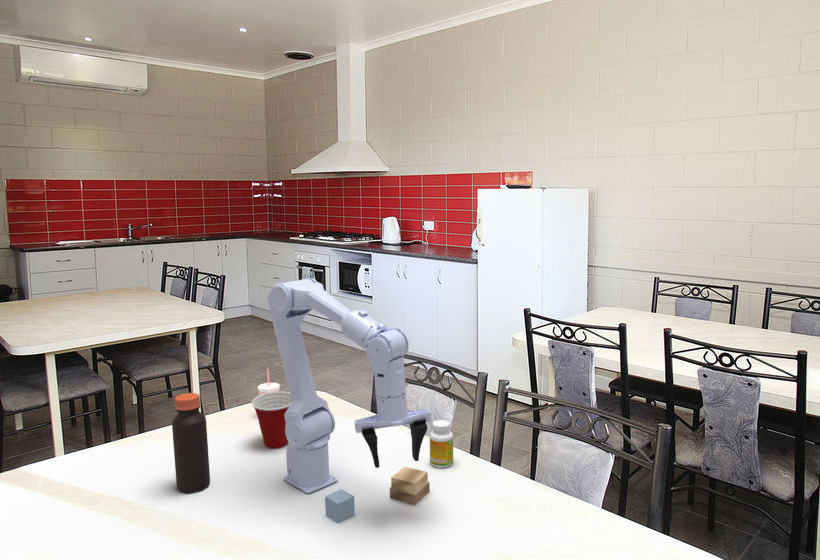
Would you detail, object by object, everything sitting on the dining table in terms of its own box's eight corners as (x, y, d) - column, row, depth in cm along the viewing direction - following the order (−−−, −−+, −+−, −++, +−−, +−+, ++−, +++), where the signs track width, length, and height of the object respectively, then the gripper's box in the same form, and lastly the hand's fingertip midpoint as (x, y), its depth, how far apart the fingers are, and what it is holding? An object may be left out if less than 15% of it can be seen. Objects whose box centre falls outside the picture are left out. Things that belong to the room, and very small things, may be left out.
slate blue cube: (325, 515, 113) (325, 496, 113) (342, 507, 116) (341, 489, 116) (338, 523, 111) (337, 503, 110) (354, 515, 113) (354, 496, 113)
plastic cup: (248, 453, 142) (245, 406, 140) (261, 435, 152) (259, 391, 151) (292, 453, 141) (290, 406, 139) (302, 435, 152) (300, 391, 150)
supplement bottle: (451, 469, 132) (451, 428, 130) (428, 467, 133) (427, 426, 131) (454, 459, 137) (454, 419, 135) (431, 457, 138) (431, 418, 137)
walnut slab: (390, 499, 120) (389, 487, 120) (405, 486, 125) (404, 475, 125) (415, 506, 117) (415, 495, 116) (429, 493, 122) (429, 482, 122)
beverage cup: (255, 419, 163) (252, 371, 161) (264, 412, 169) (262, 365, 167) (276, 421, 162) (273, 372, 160) (284, 413, 168) (282, 365, 166)
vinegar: (197, 475, 131) (191, 389, 128) (216, 483, 127) (211, 395, 124) (170, 488, 125) (163, 398, 122) (189, 497, 121) (182, 404, 118)
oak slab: (391, 489, 119) (391, 477, 119) (404, 477, 124) (404, 466, 123) (415, 495, 116) (415, 483, 116) (427, 483, 121) (427, 472, 121)
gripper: (356, 405, 105) (362, 477, 107) (433, 393, 109) (438, 464, 110) (350, 394, 112) (356, 462, 114) (423, 384, 116) (428, 450, 117)
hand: (396, 462), depth 112 cm, fingers open, 7 cm apart
